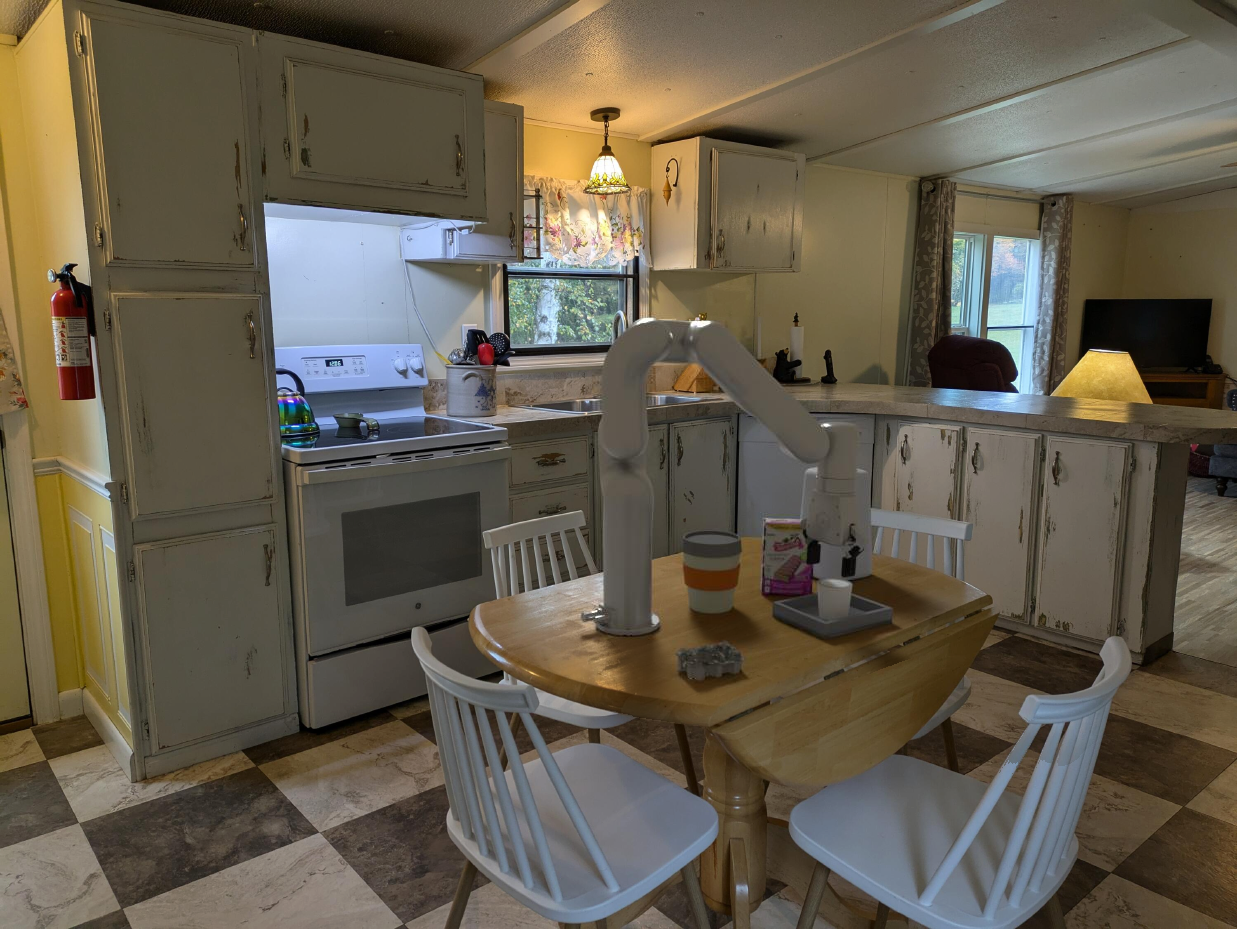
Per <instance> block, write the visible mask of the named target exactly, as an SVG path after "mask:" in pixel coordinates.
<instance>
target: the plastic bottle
mask: <svg viewBox="0 0 1237 929" xmlns="http://www.w3.org/2000/svg"><path fill="white" fill-rule="evenodd" d="M817 468H818V466H815V467H810V468H807V469H806V470H805V472H804V477H803V489H802V496H801V497H802V498H801V507H800V516H799V519H806V518H807V517H808V510H809V504H810V500H811V496H812V493H813V490H814V489H816V481H815V477H816V476H817ZM855 495H857V501H858V529H859V530H860V531H861V532H862V533H863V534H864V535H865V536H866V537H867V538H868V542H867V544H866V546H865V547H864V551H862V552H861V553H860V555H859V556H858V557H856V571H855V576H851V577H845V578H844V577H842V576H841V570H842V558H843V557H845V554H844V552H843V550H842V548H841V546H833V545H830V544H826V543H823V542H819V543H818V544H821V553H820V563H818V564H814V565H813V578H815V579H818V580H821V579H830V578H834V579H842V580H846V581H853V580H858V579H863V578H867V577H869V576H870V575H871V574H872V573H873V544H872V543H873V542H872V540H873V539H872V535H873V534H872V505H871V504H872V502H871V500H872V499H871V476H870V473H869V471H867V470H864V469H860V468H857V477H856V491H855ZM856 543H857V541H856ZM856 543H855V544H856ZM848 548H849V550H851V548H850V546H848Z"/></svg>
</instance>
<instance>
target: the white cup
mask: <svg viewBox="0 0 1237 929" xmlns="http://www.w3.org/2000/svg"><path fill="white" fill-rule="evenodd" d="M816 587H817V589H816V590H817V593H818V606H819V616H820V618H822V619H824V620H828V621H831V620H835V619H839V618H843V617H847V616H848V613H849V606H850V599H851V593H852V592H853V591H852V590H853V583H852V582H851V581H850V580H848V581H846V580H842V579H834V578H830V579H821V580H820V579H818V580H817V582H816Z"/></svg>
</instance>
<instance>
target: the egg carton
mask: <svg viewBox="0 0 1237 929" xmlns="http://www.w3.org/2000/svg"><path fill="white" fill-rule="evenodd" d="M674 656H675V657H677V670H678V671H679V672H680V671H687V672H686V675H687V676H686V678H687V677H688V678H687V679H689V678H696V679H698V680H697V681H699V680H700V681H704V680H703V679H706V677H705V676H707V675H712V676H711V677H714V676H716V677H715V678H720V677H723V674H727V672H729V674H732V673H733V675H737V674H736V673H738V674H740V671H742V664H743V661H744V660H746V659H747V658H746V657H745V656H742V654H741V652H740V651H738V650H737V649H736V648H735V647H734V646H733V645H731V644H730V643H729V641H727V640H723V641H721V642H718V643H716V644H715V643H714V644H712V643H711V644H710V645H707V644H704V645H702V646H696V647H693V648H690V647H682V648H679V650H678V651H676V652H675V654H674ZM725 672H726V673H725ZM722 673H723V674H722ZM707 677H708V676H707ZM696 679H695V680H696Z"/></svg>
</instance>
